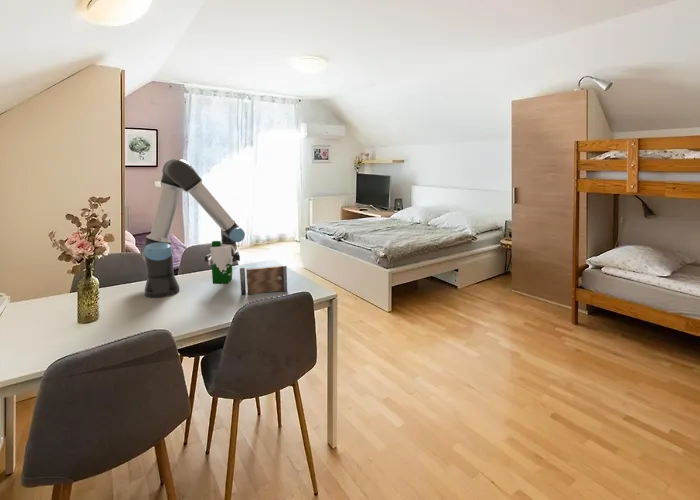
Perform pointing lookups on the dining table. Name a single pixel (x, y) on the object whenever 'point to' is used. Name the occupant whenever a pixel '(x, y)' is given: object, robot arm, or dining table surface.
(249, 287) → the door
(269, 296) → the dining table surface
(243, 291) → the door frame
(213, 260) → the soya milk
